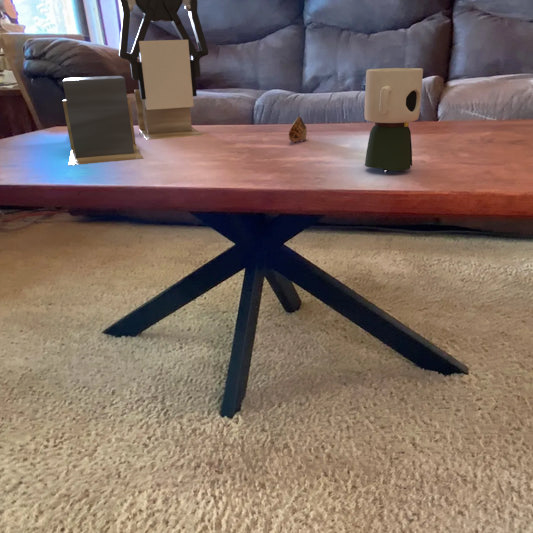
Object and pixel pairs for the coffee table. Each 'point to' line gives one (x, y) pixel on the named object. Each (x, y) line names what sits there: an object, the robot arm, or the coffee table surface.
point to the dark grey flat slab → (99, 120)
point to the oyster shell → (298, 131)
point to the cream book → (166, 74)
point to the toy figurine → (391, 115)
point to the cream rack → (164, 121)
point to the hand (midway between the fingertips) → (168, 97)
